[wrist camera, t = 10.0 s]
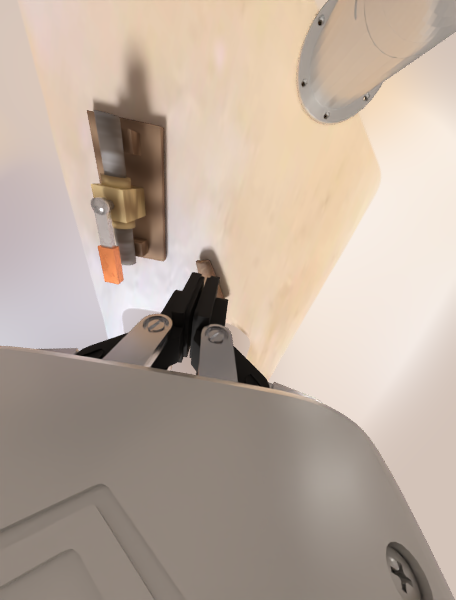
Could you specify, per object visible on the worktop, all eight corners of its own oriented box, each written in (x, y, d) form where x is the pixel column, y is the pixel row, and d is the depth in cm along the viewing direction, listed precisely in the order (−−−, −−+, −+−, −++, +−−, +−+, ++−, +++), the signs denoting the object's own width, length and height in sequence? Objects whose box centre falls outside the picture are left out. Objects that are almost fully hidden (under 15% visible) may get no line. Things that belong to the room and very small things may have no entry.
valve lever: (112, 198, 29) (105, 200, 28) (123, 280, 37) (118, 284, 36) (95, 195, 29) (87, 196, 27) (110, 277, 37) (104, 281, 36)
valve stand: (93, 112, 31) (34, 87, 22) (163, 128, 32) (132, 109, 23) (116, 249, 45) (85, 267, 36) (165, 259, 45) (146, 278, 36)
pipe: (210, 260, 40) (167, 274, 40) (231, 319, 48) (194, 329, 49) (210, 252, 45) (172, 264, 46) (228, 306, 54) (196, 315, 54)
